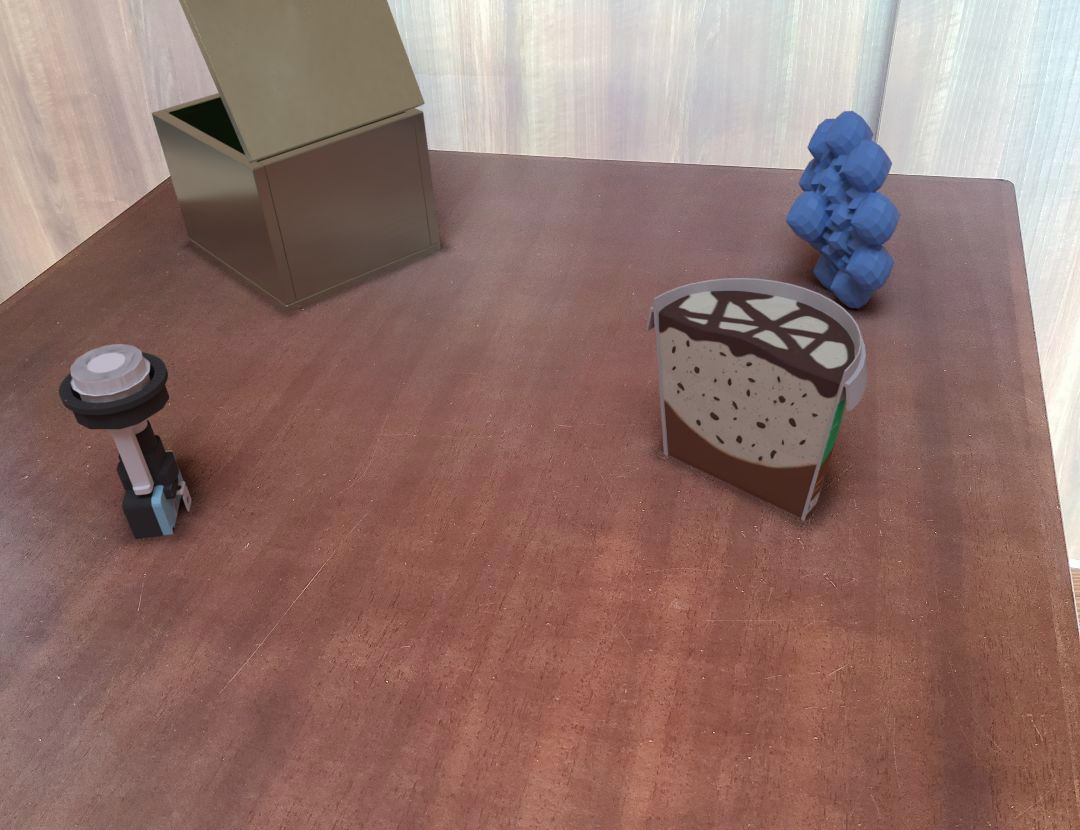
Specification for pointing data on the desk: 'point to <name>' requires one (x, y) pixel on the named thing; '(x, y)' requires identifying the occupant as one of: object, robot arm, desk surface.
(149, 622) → the desk surface
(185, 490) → the push button
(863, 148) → the grapes
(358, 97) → the bin lid
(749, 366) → the food container
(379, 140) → the bin
